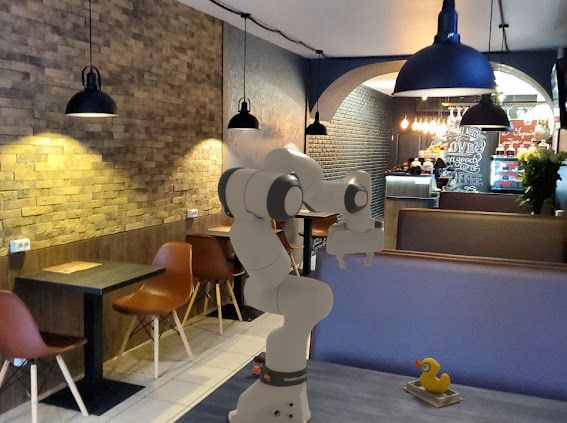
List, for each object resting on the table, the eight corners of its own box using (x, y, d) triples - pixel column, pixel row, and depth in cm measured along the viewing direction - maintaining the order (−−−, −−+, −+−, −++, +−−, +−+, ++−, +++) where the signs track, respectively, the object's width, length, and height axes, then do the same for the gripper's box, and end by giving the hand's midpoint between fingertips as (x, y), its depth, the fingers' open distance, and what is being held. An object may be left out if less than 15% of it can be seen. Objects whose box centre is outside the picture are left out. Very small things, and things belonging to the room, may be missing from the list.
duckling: (410, 388, 173) (411, 357, 172) (418, 382, 177) (419, 352, 175) (444, 399, 165) (445, 366, 164) (452, 393, 169) (453, 361, 168)
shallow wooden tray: (437, 407, 161) (437, 400, 160) (403, 388, 173) (403, 382, 173) (463, 400, 166) (463, 393, 166) (427, 382, 178) (428, 376, 178)
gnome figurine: (300, 354, 183) (257, 353, 187) (294, 356, 176) (249, 354, 180) (300, 376, 182) (256, 374, 186) (294, 379, 175) (249, 377, 179)
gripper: (334, 225, 164) (333, 271, 165) (388, 222, 174) (386, 266, 176) (322, 222, 170) (321, 267, 171) (375, 220, 180) (373, 263, 181)
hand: (354, 267), depth 173 cm, fingers open, 8 cm apart
